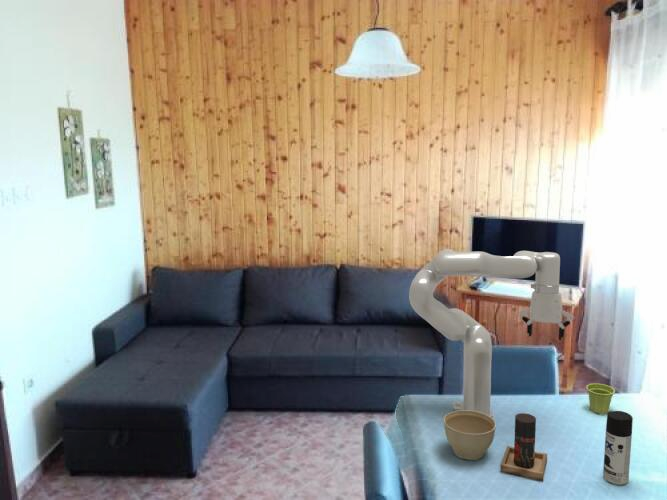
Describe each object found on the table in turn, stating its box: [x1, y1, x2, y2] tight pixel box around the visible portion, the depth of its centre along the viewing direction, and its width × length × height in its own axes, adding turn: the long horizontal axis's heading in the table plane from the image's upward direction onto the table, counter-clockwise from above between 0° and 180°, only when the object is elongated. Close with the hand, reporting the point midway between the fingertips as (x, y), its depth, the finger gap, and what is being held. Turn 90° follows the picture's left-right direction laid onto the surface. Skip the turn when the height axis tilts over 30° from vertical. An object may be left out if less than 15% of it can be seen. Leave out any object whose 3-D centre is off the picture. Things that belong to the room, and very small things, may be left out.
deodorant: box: [513, 412, 537, 469], centre depth 165 cm, size 6×6×15 cm
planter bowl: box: [443, 410, 497, 461], centre depth 174 cm, size 16×16×11 cm
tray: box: [500, 445, 548, 482], centre depth 166 cm, size 12×12×2 cm
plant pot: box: [585, 383, 616, 415], centre depth 199 cm, size 9×9×9 cm
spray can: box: [602, 410, 634, 486], centre depth 157 cm, size 7×7×20 cm
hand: (545, 337), depth 187 cm, fingers open, 9 cm apart
